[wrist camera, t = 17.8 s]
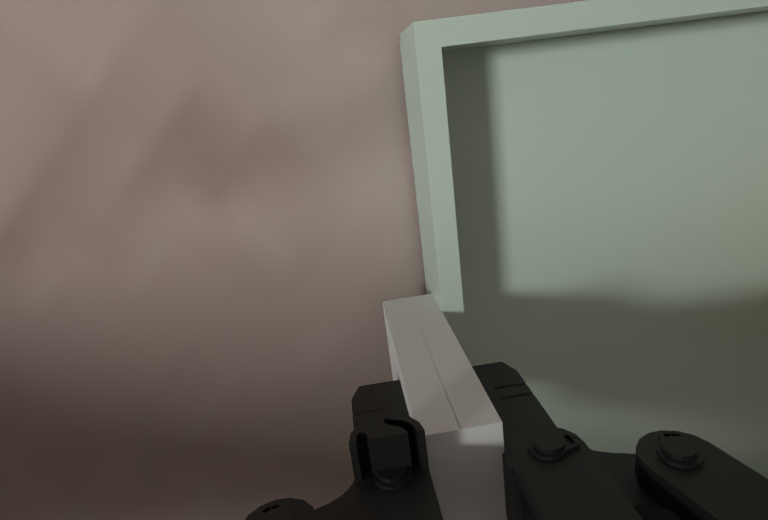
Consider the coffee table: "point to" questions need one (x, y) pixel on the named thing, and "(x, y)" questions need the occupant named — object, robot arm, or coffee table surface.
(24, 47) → the coffee table surface
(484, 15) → the tray
